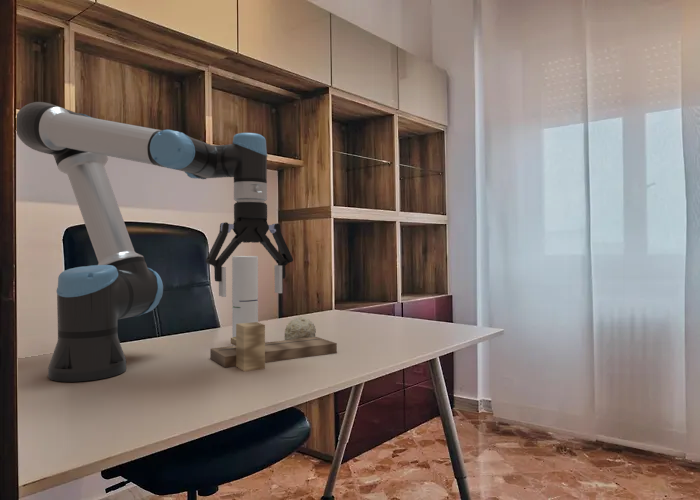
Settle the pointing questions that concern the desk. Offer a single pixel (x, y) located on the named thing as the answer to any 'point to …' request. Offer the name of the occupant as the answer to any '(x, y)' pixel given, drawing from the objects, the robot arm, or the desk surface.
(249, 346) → the wooden lever on block
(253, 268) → the cylindrical container
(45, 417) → the desk surface
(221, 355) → the board
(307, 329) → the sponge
